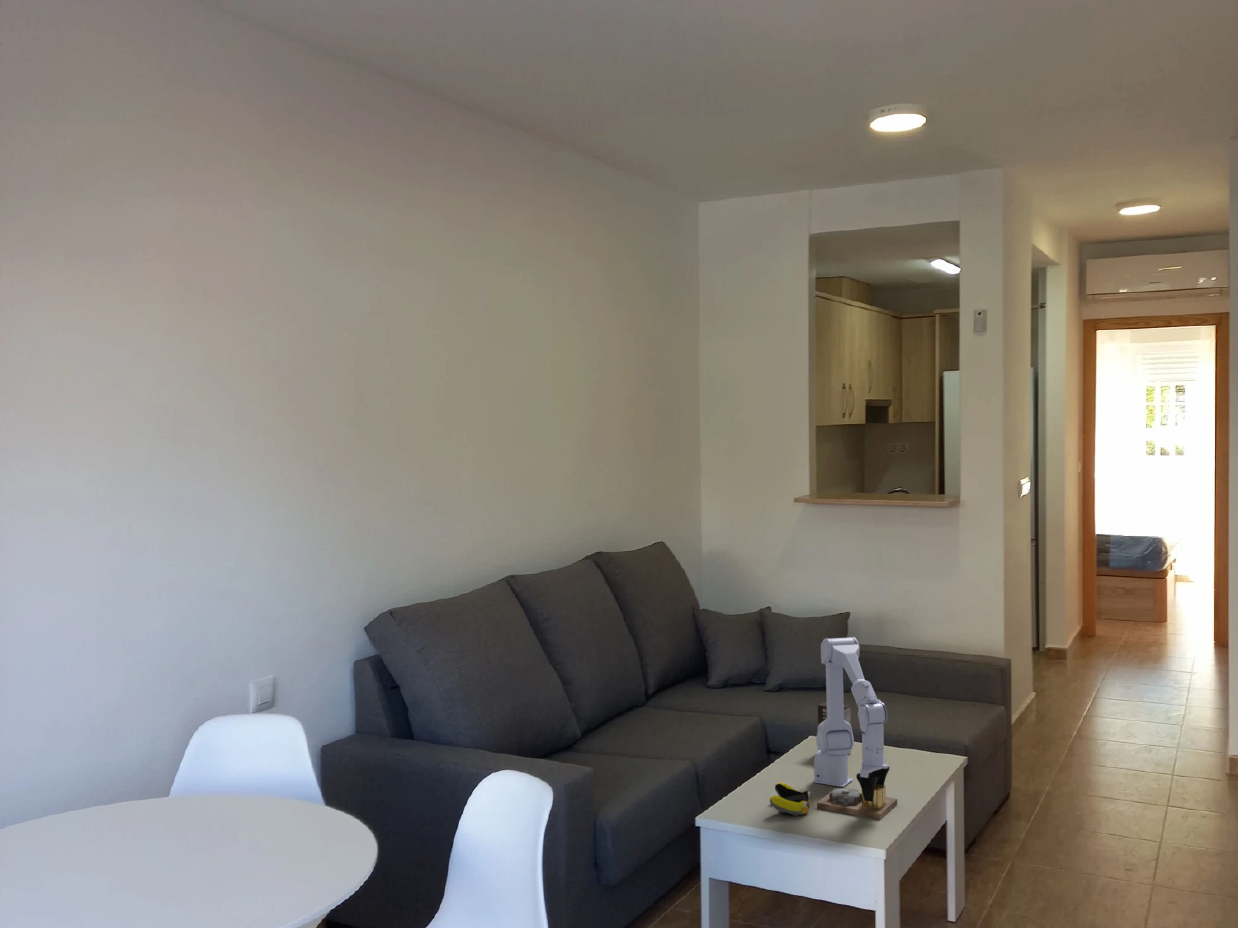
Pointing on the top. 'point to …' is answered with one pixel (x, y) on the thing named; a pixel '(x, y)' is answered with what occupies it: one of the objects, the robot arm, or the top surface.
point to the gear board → (853, 804)
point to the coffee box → (823, 714)
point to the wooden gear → (876, 798)
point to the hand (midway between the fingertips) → (873, 796)
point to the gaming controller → (790, 800)
